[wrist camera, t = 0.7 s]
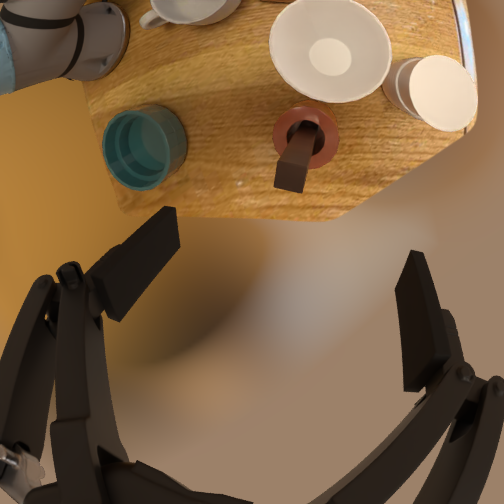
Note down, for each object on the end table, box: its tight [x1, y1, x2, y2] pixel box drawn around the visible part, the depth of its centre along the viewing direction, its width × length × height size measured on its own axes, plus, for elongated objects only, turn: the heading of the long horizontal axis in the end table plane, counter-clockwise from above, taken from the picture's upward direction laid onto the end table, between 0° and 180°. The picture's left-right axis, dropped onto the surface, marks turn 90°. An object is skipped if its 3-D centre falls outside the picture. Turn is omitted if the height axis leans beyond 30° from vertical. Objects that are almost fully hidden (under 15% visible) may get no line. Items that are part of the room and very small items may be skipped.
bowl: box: [102, 104, 187, 191], centre depth 39 cm, size 13×13×6 cm
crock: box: [272, 100, 339, 169], centre depth 31 cm, size 7×7×9 cm
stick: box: [274, 120, 319, 193], centre depth 26 cm, size 2×2×20 cm
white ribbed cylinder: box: [382, 55, 478, 132], centre depth 22 cm, size 7×7×15 cm
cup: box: [269, 0, 392, 103], centre depth 23 cm, size 10×10×14 cm
